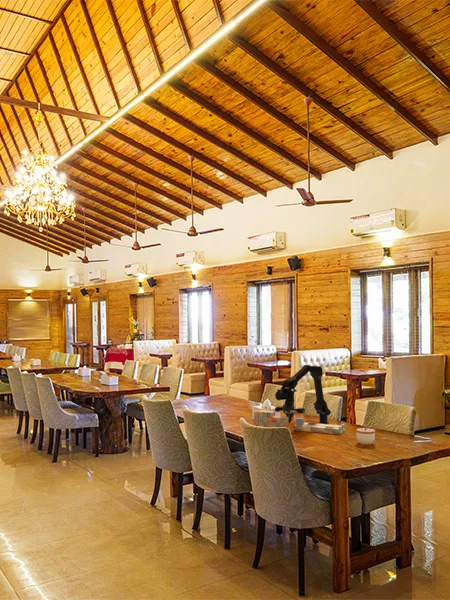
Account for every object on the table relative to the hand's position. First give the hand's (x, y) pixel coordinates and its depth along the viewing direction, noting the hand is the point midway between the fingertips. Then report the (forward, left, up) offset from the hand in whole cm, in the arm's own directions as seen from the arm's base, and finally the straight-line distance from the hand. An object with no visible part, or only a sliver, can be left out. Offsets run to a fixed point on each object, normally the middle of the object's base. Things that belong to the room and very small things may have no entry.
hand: (289, 423), depth 363 cm
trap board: (-3, +19, -4) cm, 19 cm away
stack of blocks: (+11, -9, -4) cm, 15 cm away
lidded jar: (+21, +53, -4) cm, 57 cm away
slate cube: (0, +7, 0) cm, 7 cm away
